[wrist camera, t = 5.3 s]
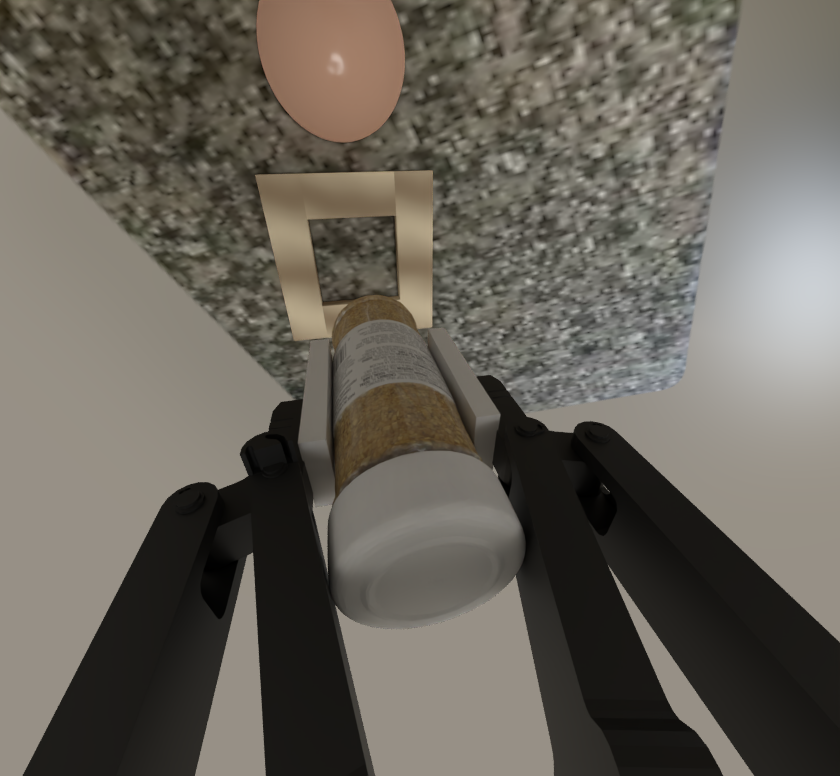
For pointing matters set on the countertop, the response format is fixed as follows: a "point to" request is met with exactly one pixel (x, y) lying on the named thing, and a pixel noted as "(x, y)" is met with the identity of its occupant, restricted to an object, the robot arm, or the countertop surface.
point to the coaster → (333, 63)
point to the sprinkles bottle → (408, 483)
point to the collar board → (345, 198)
